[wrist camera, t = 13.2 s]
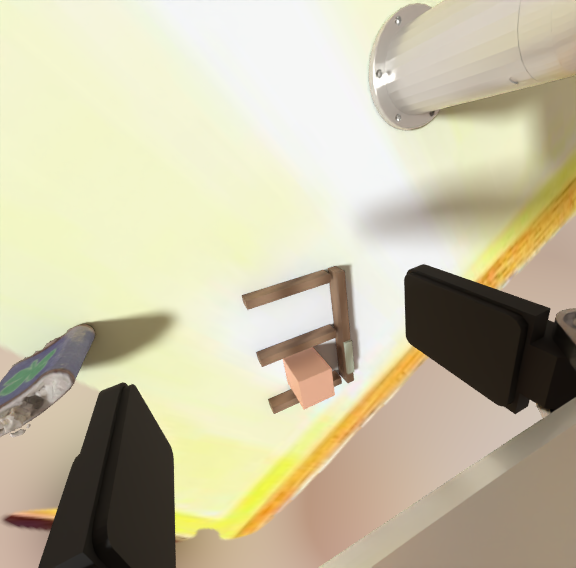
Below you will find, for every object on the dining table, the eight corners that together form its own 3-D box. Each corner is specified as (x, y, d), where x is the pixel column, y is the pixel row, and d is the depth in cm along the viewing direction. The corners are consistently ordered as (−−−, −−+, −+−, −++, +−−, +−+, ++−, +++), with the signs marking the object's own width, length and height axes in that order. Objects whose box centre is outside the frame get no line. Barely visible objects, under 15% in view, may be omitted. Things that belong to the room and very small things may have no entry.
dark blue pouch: (84, 318, 31) (50, 380, 22) (104, 336, 32) (80, 402, 23) (2, 369, 29) (-72, 458, 20) (27, 386, 31) (-32, 476, 22)
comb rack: (335, 266, 41) (346, 271, 38) (345, 371, 49) (355, 381, 46) (241, 295, 37) (247, 304, 34) (269, 404, 45) (275, 418, 42)
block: (311, 345, 44) (331, 368, 39) (315, 370, 46) (334, 395, 41) (282, 357, 43) (298, 382, 38) (287, 382, 45) (303, 409, 40)
